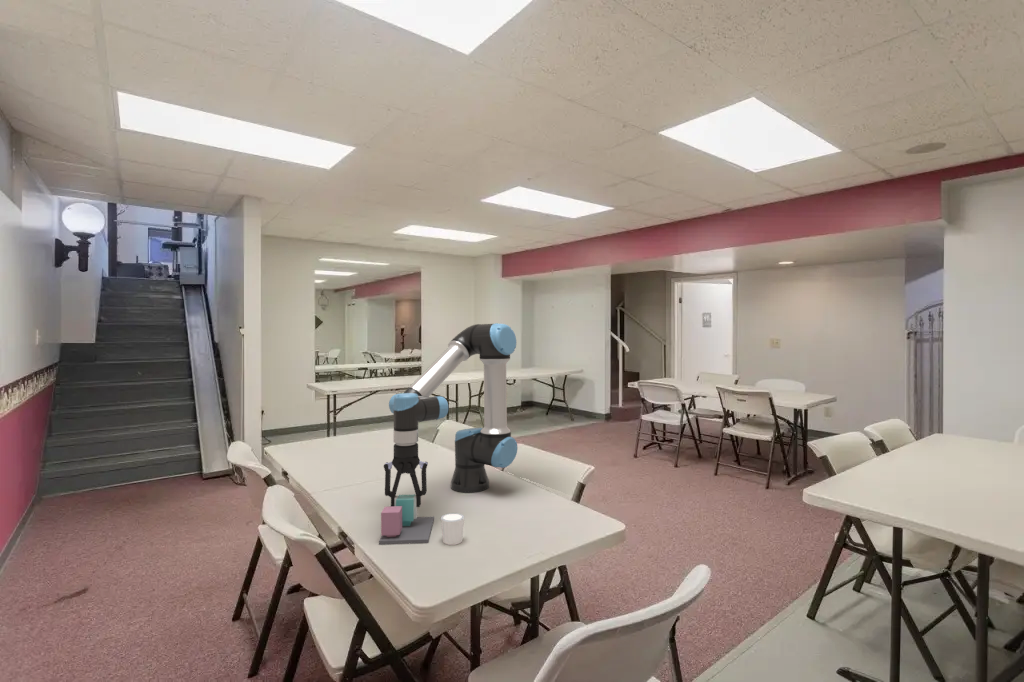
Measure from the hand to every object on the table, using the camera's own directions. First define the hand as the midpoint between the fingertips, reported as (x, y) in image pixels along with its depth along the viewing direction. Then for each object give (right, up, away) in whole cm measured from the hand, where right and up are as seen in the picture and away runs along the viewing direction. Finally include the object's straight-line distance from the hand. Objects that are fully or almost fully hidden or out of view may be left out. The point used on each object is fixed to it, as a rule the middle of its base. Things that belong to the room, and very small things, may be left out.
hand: (405, 517), depth 149 cm
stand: (+1, -3, -3) cm, 5 cm away
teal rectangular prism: (0, 0, 0) cm, 0 cm away
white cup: (+16, -3, -10) cm, 19 cm away
